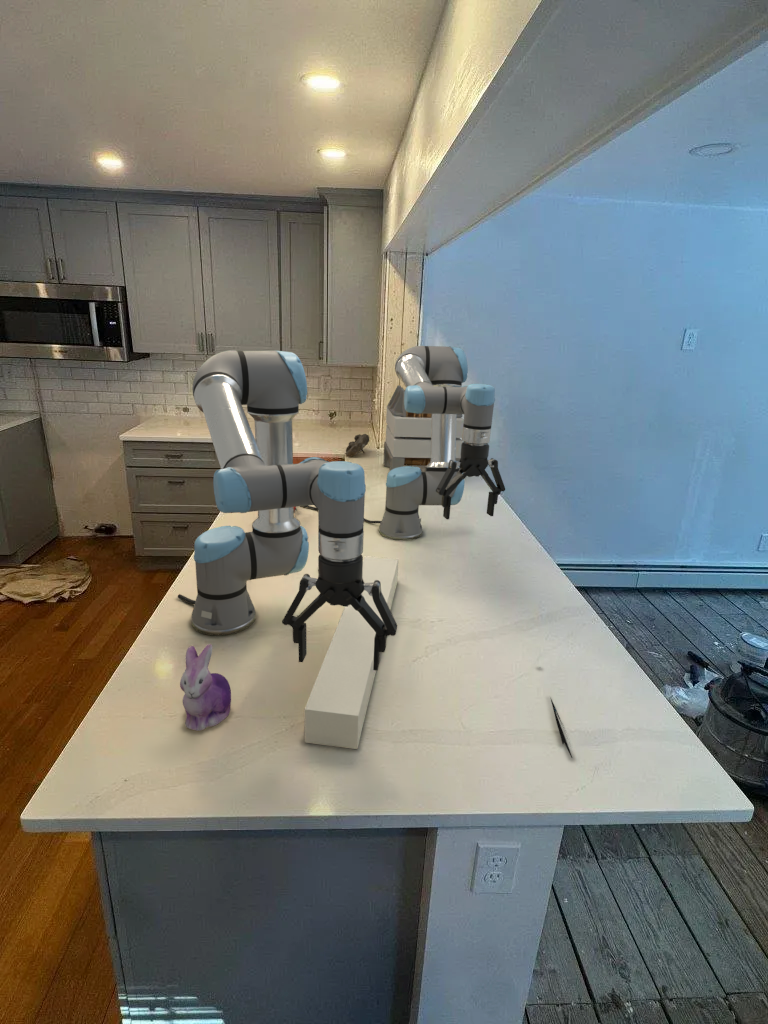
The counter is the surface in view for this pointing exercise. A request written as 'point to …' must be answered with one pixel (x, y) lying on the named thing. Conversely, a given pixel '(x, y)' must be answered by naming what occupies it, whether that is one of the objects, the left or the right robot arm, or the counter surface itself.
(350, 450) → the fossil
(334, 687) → the thick board
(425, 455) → the white slatted box
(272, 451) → the left robot arm
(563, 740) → the feather
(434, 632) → the counter surface
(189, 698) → the figurine
